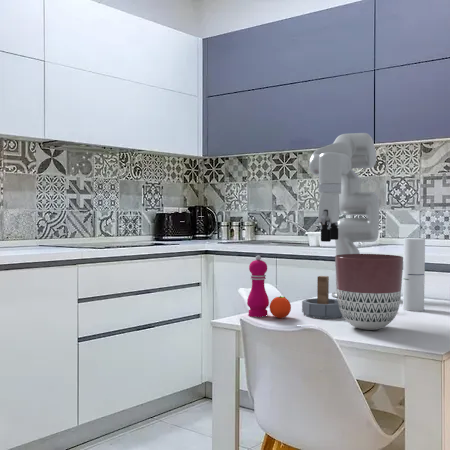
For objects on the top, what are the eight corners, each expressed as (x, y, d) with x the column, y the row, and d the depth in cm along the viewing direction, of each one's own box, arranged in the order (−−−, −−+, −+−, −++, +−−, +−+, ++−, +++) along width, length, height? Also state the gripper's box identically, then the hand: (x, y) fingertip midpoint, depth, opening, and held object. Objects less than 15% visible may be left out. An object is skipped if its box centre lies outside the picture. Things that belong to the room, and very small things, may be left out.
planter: (353, 319, 186) (353, 252, 185) (412, 327, 173) (413, 256, 173) (322, 329, 171) (323, 256, 170) (385, 338, 158) (386, 260, 158)
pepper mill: (243, 316, 191) (243, 255, 190) (252, 313, 197) (252, 254, 196) (263, 318, 187) (263, 256, 187) (272, 314, 194) (272, 255, 193)
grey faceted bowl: (309, 310, 203) (310, 297, 203) (346, 313, 197) (347, 299, 197) (298, 316, 191) (298, 302, 191) (337, 319, 185) (337, 305, 185)
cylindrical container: (420, 311, 200) (421, 239, 199) (399, 309, 204) (400, 238, 203) (427, 309, 206) (427, 238, 205) (407, 307, 210) (407, 237, 209)
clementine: (276, 314, 194) (276, 293, 194) (295, 316, 190) (295, 295, 190) (265, 318, 187) (265, 296, 187) (285, 320, 184) (285, 298, 183)
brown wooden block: (319, 311, 196) (319, 275, 196) (328, 311, 195) (328, 276, 194) (317, 312, 193) (317, 276, 193) (326, 313, 192) (326, 277, 192)
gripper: (326, 190, 204) (325, 238, 205) (311, 189, 189) (311, 242, 190) (347, 189, 201) (347, 239, 202) (334, 189, 186) (333, 242, 186)
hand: (329, 240), depth 196 cm, fingers open, 9 cm apart
